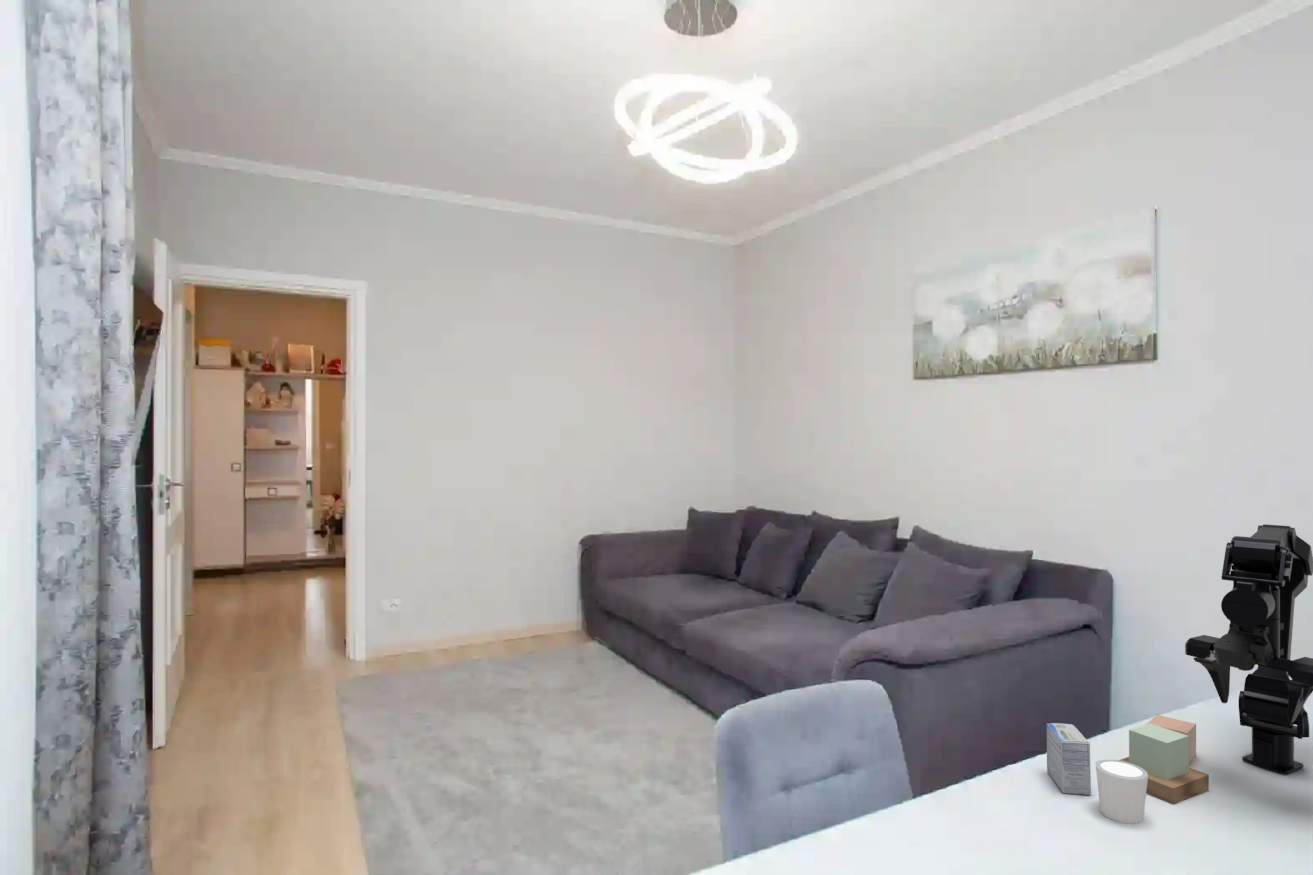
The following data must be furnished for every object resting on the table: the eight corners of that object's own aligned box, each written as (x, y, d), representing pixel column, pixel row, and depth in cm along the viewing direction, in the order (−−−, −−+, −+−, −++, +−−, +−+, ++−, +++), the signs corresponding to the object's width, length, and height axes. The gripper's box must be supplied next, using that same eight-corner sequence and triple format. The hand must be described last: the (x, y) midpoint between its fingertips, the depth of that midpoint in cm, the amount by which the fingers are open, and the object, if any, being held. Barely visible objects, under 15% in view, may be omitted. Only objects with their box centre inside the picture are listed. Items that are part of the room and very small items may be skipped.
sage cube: (1150, 757, 128) (1150, 723, 127) (1188, 772, 122) (1188, 735, 122) (1129, 765, 125) (1129, 729, 125) (1167, 780, 119) (1167, 742, 119)
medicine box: (1091, 796, 120) (1091, 742, 120) (1061, 793, 121) (1061, 740, 120) (1074, 774, 127) (1074, 723, 127) (1046, 771, 128) (1045, 721, 128)
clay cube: (1157, 746, 138) (1157, 714, 138) (1196, 757, 134) (1196, 723, 134) (1147, 756, 134) (1147, 723, 134) (1187, 767, 130) (1187, 733, 130)
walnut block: (1145, 765, 130) (1145, 751, 130) (1208, 789, 121) (1208, 774, 121) (1109, 777, 126) (1109, 763, 126) (1173, 804, 117) (1173, 788, 117)
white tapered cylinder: (1130, 830, 110) (1130, 782, 109) (1085, 809, 116) (1085, 764, 116) (1158, 818, 113) (1157, 772, 113) (1112, 798, 119) (1112, 755, 119)
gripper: (1166, 609, 125) (1166, 701, 125) (1302, 636, 108) (1302, 743, 108) (1203, 601, 130) (1203, 691, 130) (1339, 626, 113) (1339, 728, 113)
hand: (1256, 711), depth 120 cm, fingers open, 9 cm apart
